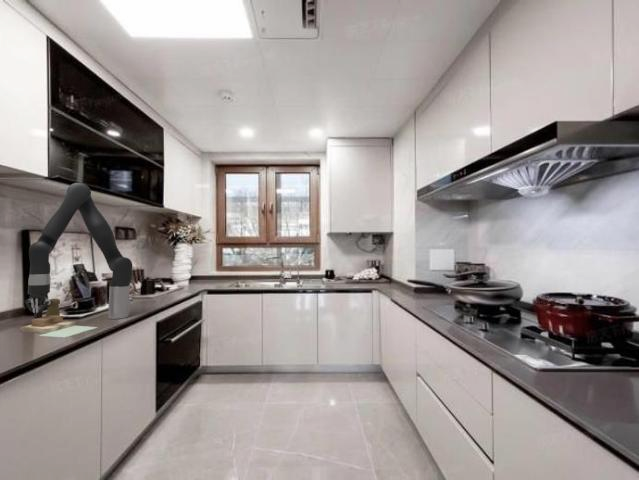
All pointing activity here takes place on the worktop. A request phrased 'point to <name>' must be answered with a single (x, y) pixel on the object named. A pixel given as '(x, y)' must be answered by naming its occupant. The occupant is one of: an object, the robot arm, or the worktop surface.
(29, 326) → the birch deck
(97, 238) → the robot arm
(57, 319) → the walnut tile
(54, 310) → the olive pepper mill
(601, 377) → the worktop surface
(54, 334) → the sage mat
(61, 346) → the worktop surface
